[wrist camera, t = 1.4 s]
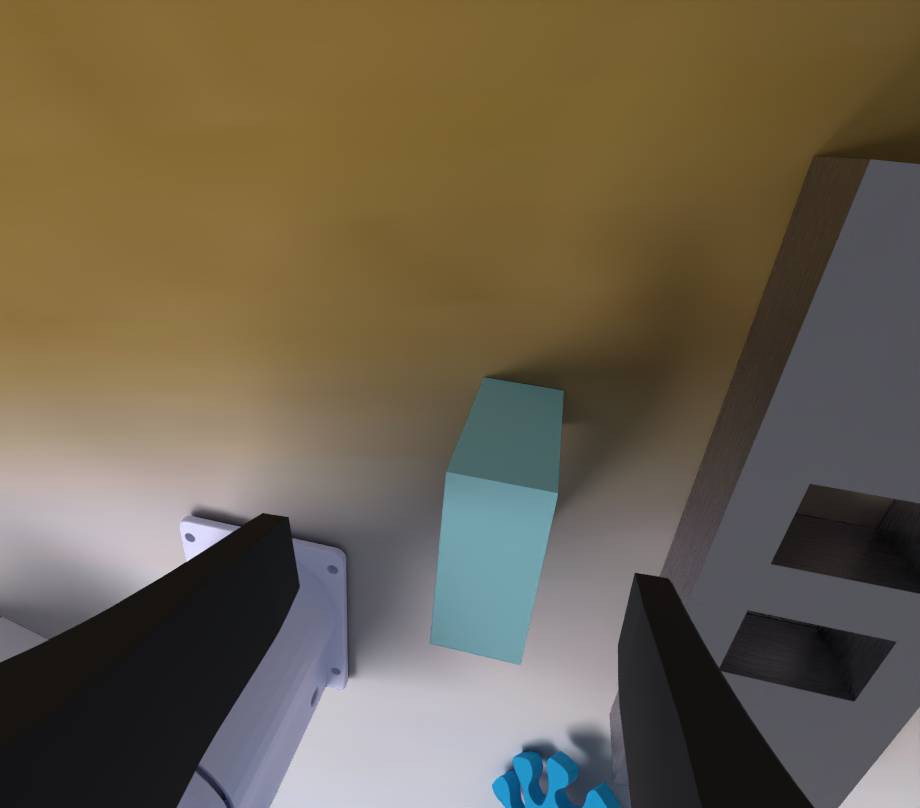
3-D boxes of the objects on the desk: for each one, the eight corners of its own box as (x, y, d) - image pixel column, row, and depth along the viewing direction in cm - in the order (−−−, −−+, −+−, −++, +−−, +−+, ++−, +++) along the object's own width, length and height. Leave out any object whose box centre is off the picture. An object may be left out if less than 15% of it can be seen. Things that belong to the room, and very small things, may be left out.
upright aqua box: (534, 533, 21) (520, 664, 16) (466, 519, 21) (430, 643, 16) (563, 390, 18) (557, 493, 13) (483, 377, 18) (445, 471, 13)
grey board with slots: (788, 758, 24) (815, 835, 21) (609, 714, 25) (613, 782, 22) (1168, 191, 13) (1325, 204, 10) (813, 156, 14) (870, 159, 11)
